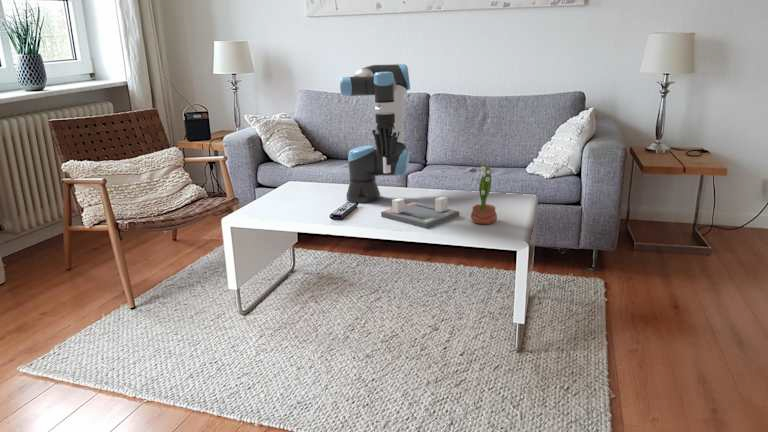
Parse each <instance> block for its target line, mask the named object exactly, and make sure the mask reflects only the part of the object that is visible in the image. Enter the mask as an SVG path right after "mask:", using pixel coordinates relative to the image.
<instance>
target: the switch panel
mask: <svg viewBox="0 0 768 432" xmlns="http://www.w3.org/2000/svg"><path fill="white" fill-rule="evenodd" d="M380 214H381V218H385V219H388V220H392V221H396V222H399V223H403V224H407V225H411V226H415V227H419V228H423V229H429V228H432V227H435V226H437V225H440V224H443V223H445V222H449V221H451V220H454V219H455V218H459V217H460V211H459V210H454V209H451V208H447V210H446V211H443V212H438V211H435V205H432V204H428V203H423V202H420V201H415V200H413V201H412V202H407V203H405V211H404V212H401V213H394V212H392V208H389V209H386V210H383V211H381V212H380Z"/></svg>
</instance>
